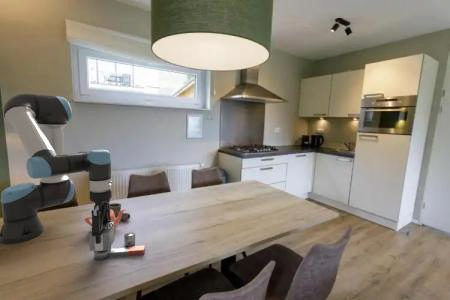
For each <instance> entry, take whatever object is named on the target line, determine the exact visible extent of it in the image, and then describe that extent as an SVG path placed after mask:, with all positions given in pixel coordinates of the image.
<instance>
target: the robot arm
mask: <svg viewBox="0 0 450 300" xmlns="http://www.w3.org/2000/svg"><path fill="white" fill-rule="evenodd" d="M2 113H3V117H4V119H5V121H6V122H7V123H8V124H10V125H12V127H13V129H14V131H15V132H16V134H17V136H18V138H19V140H20V142H21V144H22V145H23V147H24V149H25V151H26V153H27V155H28V157H29V158H28V159H27V160H26V171H27V174H28V176H29V177H30V178H31V179H33V180H34V179H39V184H36V183H34V182H26V183H25V182H24V183H23V182H22V183H19V184H15V185H10V186H9V187H6V188H5V189H4V190H2V192H1V193H0V203H1V211H2V221H3V222H2V226H1V228H0V243H2V244H16V243H21V242H25V241H28V240H31V239H33V238H36V237H38V236H39V235H41V234H42V233H43V232H44V224H43V222H41V220H40V217H39V216H38V210H42V209H45V208H49V207H54V206H58V205H62V204H65V203H68V202H70V201H71V200H72V199H73V198H74V194H75V185H74V181H72V180H71V179H70V178H69V176H68V175H71V174H77V173H82V172H86V173H88V190H89V201H90V202H93V203H94V206H93V209H92V210H91V212H90V213H91V216H92V218H91V223H92V226H91V228H92V236H95V251H101V250H103V234H102V225H103V223H104V222H111V221H109V220H111V217H110V204H111V203H110V202H111V199H112V197H113V196H112V193H113V192H112V184H113V181H112V158H111V152H110V151H109V150H107V149H91V150H89V151H78V152H76V153H70V154H68V153H67V154H65V137H64V136H65V135H64V128H65V127H66V126H67V125H68V122H69V121H71V120H72V117H73V110H72V106H71V105H70V103H69V101H68V99H66V98H65V97H62V96H57V95H46V94H37V93H36V94H34V93H33V94H32V93H20V94H16V95H14V96H12V97H10V98H8V99H7V100H6V102H5V103H4V105H3V108H2Z"/></svg>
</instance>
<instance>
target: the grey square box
mask: <svg viewBox="0 0 450 300" xmlns="http://www.w3.org/2000/svg"><path fill="white" fill-rule="evenodd" d="M102 234H103V250H108V249H110V247H111V248H112V245H113V243H114V242H115V232H114V222H104V223H103V225H102ZM88 243H89V252H92V251H93V252H94V251H95V236H92V227H91V228H90V229H89V231H88Z"/></svg>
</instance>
